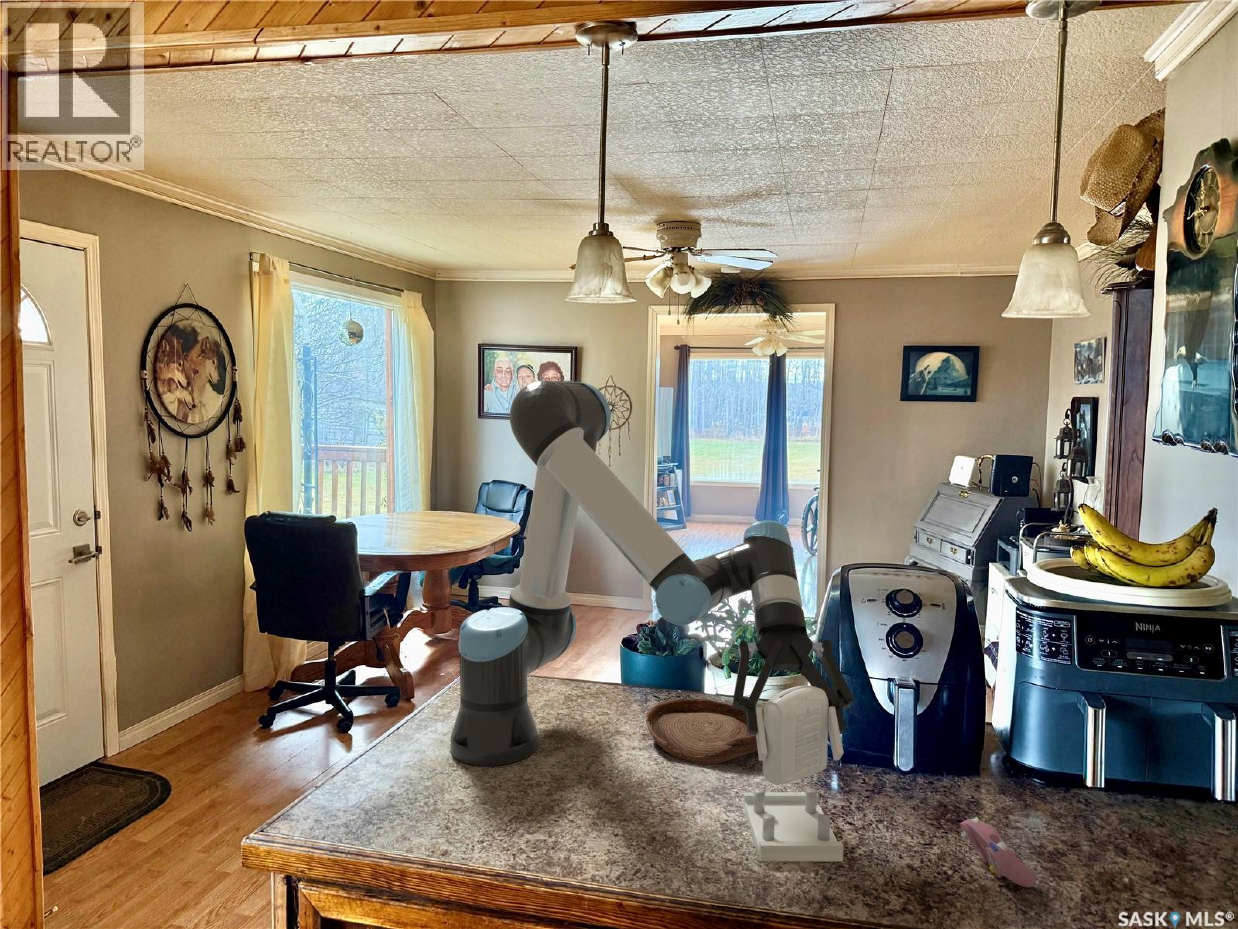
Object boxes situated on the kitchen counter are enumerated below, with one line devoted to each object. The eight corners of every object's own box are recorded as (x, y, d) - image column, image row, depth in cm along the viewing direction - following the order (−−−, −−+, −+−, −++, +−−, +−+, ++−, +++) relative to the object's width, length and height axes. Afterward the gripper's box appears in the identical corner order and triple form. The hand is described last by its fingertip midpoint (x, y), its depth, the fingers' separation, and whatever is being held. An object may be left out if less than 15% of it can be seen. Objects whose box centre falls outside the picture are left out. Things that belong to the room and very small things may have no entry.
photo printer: (808, 758, 115) (810, 676, 114) (831, 769, 112) (833, 685, 111) (757, 777, 110) (758, 691, 109) (780, 790, 106) (781, 701, 105)
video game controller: (967, 858, 108) (948, 815, 108) (996, 842, 109) (977, 800, 108) (1011, 904, 99) (990, 858, 98) (1042, 886, 99) (1021, 840, 98)
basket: (635, 759, 134) (635, 731, 134) (657, 713, 154) (657, 688, 153) (769, 774, 129) (769, 745, 129) (774, 724, 149) (774, 699, 148)
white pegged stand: (743, 806, 119) (743, 779, 118) (815, 806, 119) (816, 779, 118) (760, 861, 105) (761, 831, 104) (842, 861, 105) (843, 831, 104)
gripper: (844, 623, 125) (875, 766, 110) (704, 623, 124) (716, 767, 110) (855, 598, 119) (889, 746, 105) (708, 599, 119) (722, 747, 104)
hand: (800, 757), depth 107 cm, fingers closed on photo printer, 10 cm apart
